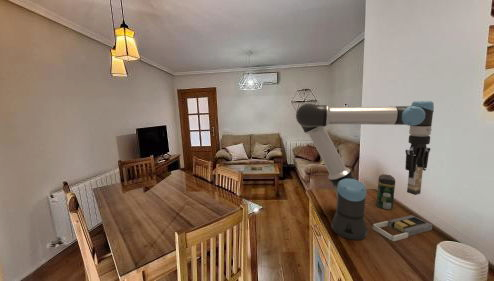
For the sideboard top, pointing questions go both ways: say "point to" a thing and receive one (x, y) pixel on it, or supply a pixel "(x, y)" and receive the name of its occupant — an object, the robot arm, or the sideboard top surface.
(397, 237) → the white u-shaped frame
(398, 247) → the sideboard top surface
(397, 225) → the chip
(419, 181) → the beige tall block
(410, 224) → the olive small block
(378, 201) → the coffee jar
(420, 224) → the grey shallow tray
